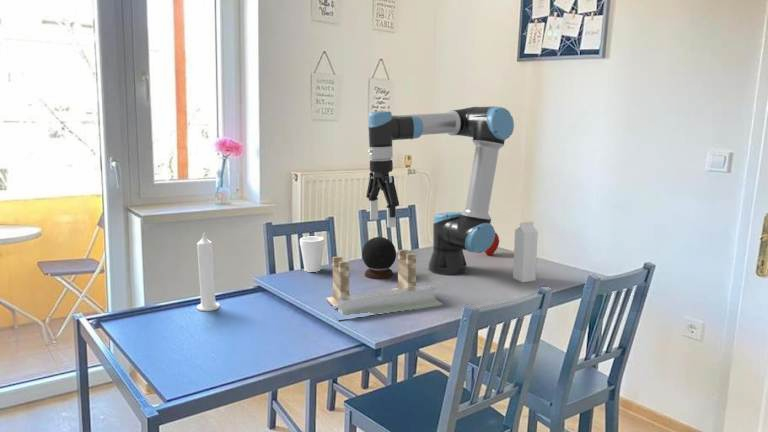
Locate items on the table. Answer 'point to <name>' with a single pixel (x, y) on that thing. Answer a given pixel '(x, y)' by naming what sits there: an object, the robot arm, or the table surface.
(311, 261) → the foam cup
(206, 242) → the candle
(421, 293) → the rail
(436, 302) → the mat
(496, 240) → the apple
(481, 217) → the robot arm
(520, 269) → the milk
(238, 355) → the table surface
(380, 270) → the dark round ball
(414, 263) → the cradle posts
